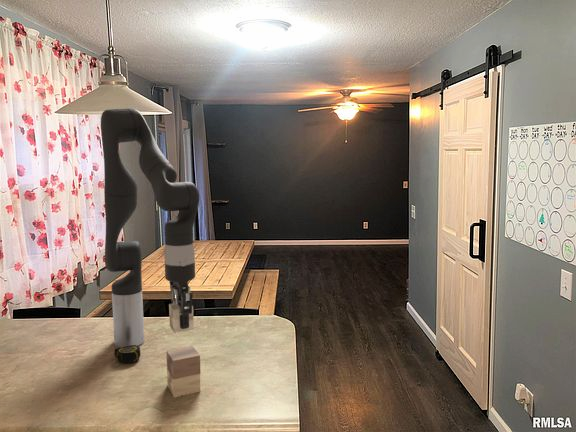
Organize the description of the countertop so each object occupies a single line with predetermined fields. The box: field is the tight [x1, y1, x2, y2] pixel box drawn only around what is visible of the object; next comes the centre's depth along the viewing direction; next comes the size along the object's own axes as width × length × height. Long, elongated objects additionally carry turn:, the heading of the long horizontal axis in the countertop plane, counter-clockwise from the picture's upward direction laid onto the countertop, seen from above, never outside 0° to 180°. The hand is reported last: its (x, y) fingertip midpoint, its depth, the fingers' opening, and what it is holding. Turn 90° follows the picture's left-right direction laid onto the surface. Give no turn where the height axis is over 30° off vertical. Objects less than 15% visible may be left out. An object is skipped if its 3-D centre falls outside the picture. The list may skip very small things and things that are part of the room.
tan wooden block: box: [166, 368, 201, 398], centre depth 131 cm, size 7×7×5 cm
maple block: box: [168, 303, 195, 334], centre depth 129 cm, size 5×5×6 cm
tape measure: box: [113, 345, 141, 364], centre depth 148 cm, size 7×7×4 cm
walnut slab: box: [165, 345, 201, 379], centre depth 131 cm, size 7×7×5 cm
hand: (181, 324), depth 129 cm, fingers closed on maple block, 5 cm apart
